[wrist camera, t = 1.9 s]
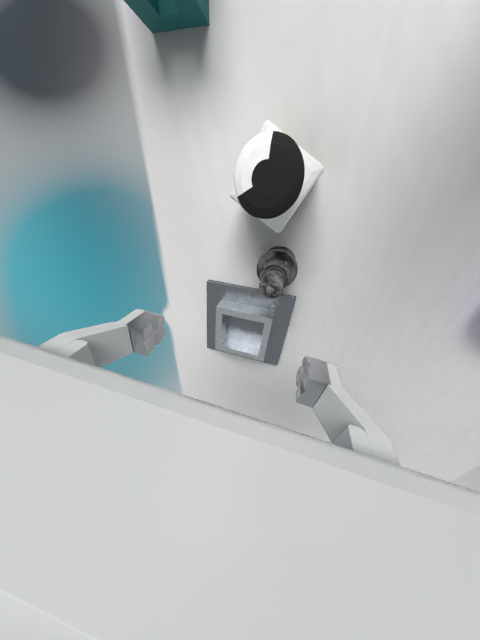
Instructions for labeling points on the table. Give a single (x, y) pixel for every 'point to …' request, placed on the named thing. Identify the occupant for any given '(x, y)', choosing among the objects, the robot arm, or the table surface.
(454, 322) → the table surface
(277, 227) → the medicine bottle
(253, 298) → the plate
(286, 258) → the chess piece
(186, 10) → the bracket
